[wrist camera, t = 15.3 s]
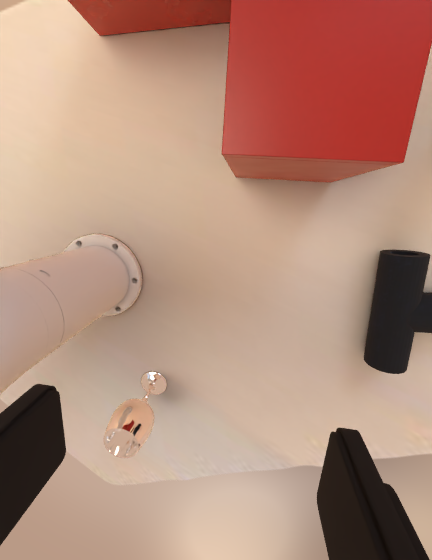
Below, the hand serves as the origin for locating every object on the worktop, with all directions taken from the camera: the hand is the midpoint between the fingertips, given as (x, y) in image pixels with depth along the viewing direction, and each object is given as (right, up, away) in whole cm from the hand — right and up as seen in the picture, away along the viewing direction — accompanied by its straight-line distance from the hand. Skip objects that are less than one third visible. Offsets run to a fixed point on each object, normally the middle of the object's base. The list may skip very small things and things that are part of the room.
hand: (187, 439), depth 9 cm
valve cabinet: (+10, +26, +23) cm, 36 cm away
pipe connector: (+27, +2, +28) cm, 39 cm away
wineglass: (-9, -12, +36) cm, 39 cm away
